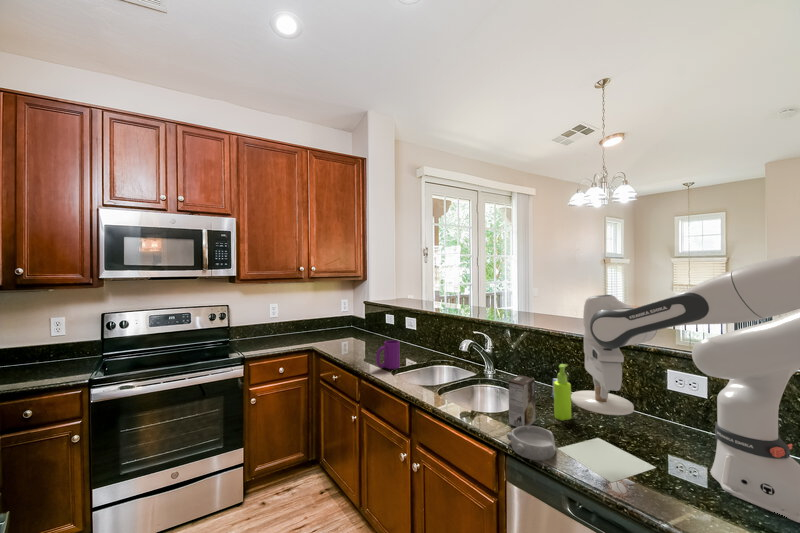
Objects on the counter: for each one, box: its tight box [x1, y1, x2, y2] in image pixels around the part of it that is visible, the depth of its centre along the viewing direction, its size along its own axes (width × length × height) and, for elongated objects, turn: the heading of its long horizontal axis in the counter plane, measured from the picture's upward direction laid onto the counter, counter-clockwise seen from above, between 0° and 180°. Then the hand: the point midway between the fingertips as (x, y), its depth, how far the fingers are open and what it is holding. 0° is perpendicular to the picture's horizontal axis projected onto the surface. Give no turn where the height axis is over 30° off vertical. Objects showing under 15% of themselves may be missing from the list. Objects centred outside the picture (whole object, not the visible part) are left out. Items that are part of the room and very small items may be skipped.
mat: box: [556, 437, 657, 483], centre depth 99 cm, size 18×18×1 cm
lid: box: [571, 385, 635, 416], centre depth 99 cm, size 16×16×5 cm
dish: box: [506, 425, 557, 461], centre depth 104 cm, size 14×14×5 cm
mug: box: [375, 339, 401, 370], centre depth 193 cm, size 9×16×15 cm, turn 129°
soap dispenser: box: [553, 363, 572, 421], centre depth 127 cm, size 6×7×20 cm
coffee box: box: [507, 374, 536, 428], centre depth 123 cm, size 9×6×16 cm
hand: (601, 395), depth 99 cm, fingers closed on lid, 3 cm apart
